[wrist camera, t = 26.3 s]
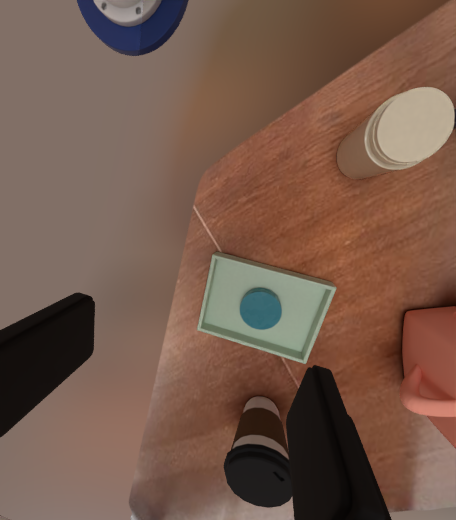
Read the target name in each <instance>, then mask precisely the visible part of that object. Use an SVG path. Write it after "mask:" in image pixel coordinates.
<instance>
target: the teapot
mask: <svg viewBox="0 0 456 520" xmlns="http://www.w3.org/2000/svg"><path fill="white" fill-rule="evenodd" d="M402 355H403V368H404V377H405V378H404V380H403V381H402V383H401V386H400V398H401V401H402V403H403V404H404V406H405V407H406V408H408V409H409V410H411V411H413V412H415V413H418V414H422V415H426V416H427V417H428V418H429V419H430V421H431V422H432V423H433V424H434V425H435V426H436V427H437V429H438V430H439V431H440V432H441V433H442V434H443V435H444V436H445V438H446V439H447V440H448V441H449V442H450V443H451V444H452V445H453V446H454V447H455V448H456V306H452V307H440V308H430V309H420V310H411V311H407V312H406V314H405V318H404V326H403V343H402Z"/></svg>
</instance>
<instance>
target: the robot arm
mask: <svg viewBox="0 0 456 520" xmlns="http://www.w3.org/2000/svg"><path fill="white" fill-rule="evenodd" d="M93 1H94V3H95V4H96V6H97V7H98V8H99V10H100V11H101V12H102V13H103V14H104V15H105V16H106V17H107V18H108V19H109V20H110V21H112V22H113V23H115V24H118V25H120V26H126V27H131V26H136V25H139V24H141V23H143V22H145V21H146V20H147V19H149V18H150V17H151V16H152V15H153V14H154V12H155V11H156V10H157V8H158V7H159V5H160V3H161V1H162V0H93ZM94 316H95V302H94V301H93V298H92V297H91V296H88V295H85V294H82V293H74V294H73V295H70V296H68V297H66V298H64V299H62V300H60V301H58V302H56V303H54V304H52V305H50V306H48V307H46V308H44V309H42V310H40V311H38V312H36V313H34V314H32V315H30V316H28V317H26V318H24V319H22V320H20V321H18V322H16V323H14V324H12V325H10V326H8V327H6V328H4V329H2V330H0V437H2V436H3V435H4V434H6V433H7V432H8V431H9V430H10V429H11V428H12V427H13V426H14V425H15V424H17V423H18V422H19V421H20V420H21V419H22V418H23V417H24V416H25V415H27V414H28V413H29V412H30V411H31V410H32V409H33V408H34V407H35V406H36V405H37V404H39V403H40V402H41V401H42V400H43V399H44V398H45V397H47V396H48V395H49V394H50V393H51V392H52V391H53V390H54V389H55V388H56V387H58V386H59V385H60V384H61V383H62V382H63V381H64V380H65V379H66V378H67V377H69V376H70V375H71V374H72V373H73V372H74V371H75V370H76V369H77V368H79V367H80V366H81V365H82V364H83V363H84V362H85V361H86V360H88V358H89V357H90V356H91V355H92V353H93V350H94ZM286 428H287V440H288V451H289V462H290V474H291V485H292V497H293V508H294V519H295V520H391V517H390V514H389V512H388V509H387V507H386V504H385V502H384V499H383V496H382V494H381V491H380V489H379V486H378V484H377V481H376V479H375V476H374V473H373V471H372V468H371V466H370V463H369V461H368V458H367V455H366V453H365V450H364V448H363V445H362V443H361V440H360V437H359V435H358V432H357V430H356V427H355V425H354V422H353V420H352V418H351V417H350V416H349V415H348V414H347V412H346V409H345V406H344V404H343V401H342V398H341V396H340V393H339V390H338V388H337V385H336V382H335V380H334V377H333V374H332V372H331V370H329V369H326V368H323V367H320V366H316V365H314V366H313V367H312V368H310V367H309V368H308V369H307V371H306V373H305V375H304V378H303V380H302V382H301V385H300V387H299V389H298V391H297V394H296V396H295V398H294V401H293V403H292V405H291V408H290V410H289V412H288V415H287V419H286ZM0 520H9V519H7V518H5V517H3V516H1V515H0Z"/></svg>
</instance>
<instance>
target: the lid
mask: <svg viewBox="0 0 456 520" xmlns="http://www.w3.org/2000/svg"><path fill="white" fill-rule="evenodd" d="M240 315H241V318H242V319H243V321H244V322H245V323H246V324H247V325H248V326H250V327H252V328H255V329H259V330H265V329H269V328H272V327H273V326H275V325H276V324H277V323H278V322H279V320H280V318H281V315H282V309H281V302H280V299H279V298H278V296H277V295H276V294H275V293H274V292H273V291H271V290H269V289H266V288H254V289H251V290H249V291H248V292H247V293H246V294H245V295H244V296H243V298H242V301H241V304H240Z"/></svg>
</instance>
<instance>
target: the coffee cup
mask: <svg viewBox="0 0 456 520" xmlns="http://www.w3.org/2000/svg"><path fill="white" fill-rule="evenodd" d="M224 470H225V475H226V479H227V483H228V485H229V486H230V488H231V489H232V491H233V492H234V493H235V494H236V495H237V496H239V497H240V498H241V499H243V500H244V501H246V502H249V503H251V504H253V505H256V506H262V507H268V508H269V507H276V506H281V505H283V504H284V503H286V502H288V501H289V500H290V499H291V497H292V485H291V474H290V462H289V453H288V448H287V443H286V439H285V434H284V430H283V425H282V422H281V420H280V416H279V411H278V409H277V407H276V406H275V404H274V402H273V401H271V400H270V399H268V398H266V397H263V396H256V397H253V398H251V399H250V400H249V401H248V402H247V403H246V405H245V408H244V411H243V414H242V415H241V418H240V421H239V425H238V428H237V431H236V435H235V438H234V441H233V445H232V448H231V451H230V452H228V453H227V456H226V459H225V462H224Z"/></svg>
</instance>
